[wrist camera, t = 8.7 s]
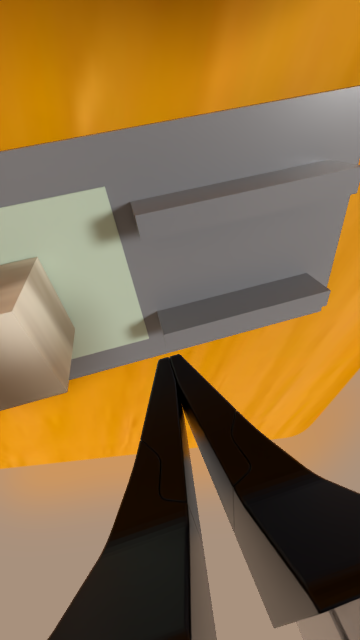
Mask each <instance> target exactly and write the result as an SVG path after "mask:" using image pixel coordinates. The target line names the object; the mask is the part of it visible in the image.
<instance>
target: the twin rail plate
mask: <svg viewBox="0 0 360 640" xmlns="http://www.w3.org/2000/svg"><path fill="white" fill-rule="evenodd" d="M359 159H360V85H359V86H353V87H348V88H342V89H337V90H332V91H326V92H321V93H315V94H310V95H304V96H299V97H293V98H288V99H282V100H277V101H272V102H266V103H261V104H255V105H250V106H244V107H239V108H233V109H228V110H223V111H217V112H212V113H206V114H201V115H195V116H190V117H184V118H179V119H174V120H168V121H163V122H157V123H152V124H146V125H141V126H135V127H130V128H125V129H119V130H114V131H108V132H103V133H97V134H92V135H86V136H81V137H75V138H70V139H65V140H59V141H54V142H48V143H43V144H37V145H32V146H26V147H21V148H16V149H10V150H5V151H0V265H3V264H7V263H12V262H16V261H21V260H25V259H29V258H34V257H38V259H39V261H40V263H41V264H42V266H43V268H44V270H45V272H46V274H47V276H48V278H49V280H50V282H51V284H52V285H53V287H54V289H55V291H56V293H57V295H58V297H59V299H60V301H61V303H62V305H63V307H64V308H65V310H66V312H67V314H68V316H69V318H70V320H71V322H72V324H73V326H74V328H75V334H74V342H73V351H72V359H71V367H70V375H69V380H71V379H75V378H78V377H82V376H86V375H89V374H93V373H97V372H100V371H104V370H107V369H111V368H115V367H118V366H122V365H126V364H129V363H133V362H137V361H140V360H144V359H148V358H151V357H155V356H159V355H162V354H166V353H169V352H173V351H177V350H180V349H184V348H188V347H191V346H195V345H199V344H202V343H206V342H210V341H213V340H217V339H221V338H224V337H228V336H232V335H235V334H239V333H242V332H246V331H250V330H253V329H257V328H261V327H264V326H268V325H272V324H275V323H279V322H283V321H286V320H290V319H294V318H297V317H301V316H304V315H308V314H312V313H315V312H319V311H321V307H323V306H326V305H327V301H328V298H329V294H330V290H329V289H328V288H327V284H328V280H329V276H330V272H331V268H332V264H333V261H334V257H335V253H336V249H337V245H338V241H339V237H340V233H341V229H342V225H343V221H344V217H345V214H346V210H347V206H348V202H349V198H350V195H351V194H355V193H357V190H358V186H359V182H360V165H358V163H359Z"/></svg>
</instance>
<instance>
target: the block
mask: <svg viewBox="0 0 360 640" xmlns="http://www.w3.org/2000/svg"><path fill="white" fill-rule="evenodd" d="M74 334H75V328H74V326H73V324H72V322H71V320H70V318H69V316H68V314H67V312H66V310H65V308H64V307H63V305H62V303H61V301H60V299H59V297H58V295H57V293H56V291H55V289H54V287H53V285H52V284H51V282H50V280H49V278H48V276H47V274H46V272H45V270H44V268H43V266H42V264H41V263H40V261H39V259H38V257H34V258H29V259H25V260H21V261H16V262H12V263H7V264H3V265H0V411H1V410H5V409H8V408H12V407H15V406H19V405H23V404H26V403H30V402H33V401H37V400H41V399H44V398H48V397H51V396H55V395H59V394H62V393H66V392H67V391H68V383H69V375H70V367H71V359H72V351H73V342H74Z"/></svg>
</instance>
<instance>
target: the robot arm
mask: <svg viewBox="0 0 360 640" xmlns="http://www.w3.org/2000/svg"><path fill="white" fill-rule="evenodd" d="M182 407H183V408H182ZM183 410H184V413H185V416H186V418H187V421H188V423H189V425H190V428H191V430H192V433H193V435H194V437H195V440H196V442H197V445H198V447H199V449H200V452H201V454H202V457H203V459H204V461H205V464H206V466H207V469H208V471H209V473H210V476H211V478H212V481H213V483H214V485H215V488H216V490H217V493H218V495H219V497H220V500H221V502H222V505H223V507H224V509H225V512H226V514H227V517H228V519H229V521H230V524H231V526H232V529H233V531H234V533H235V536H236V538H237V541H238V543H239V546H240V548H241V550H242V553H243V555H244V558H245V560H246V562H247V565H248V567H249V570H250V572H251V574H252V577H253V579H254V581H255V584H256V586H257V589H258V591H259V594H260V596H261V598H262V601H263V603H264V605H265V608H266V610H267V613H268V615H269V618H270V620H271V622H272V625H273V627H274V628H277V627H280V626H283V625H287V624H290V623H293V622H297V625H298V627H299V630H300V633H301V635H302V638H303V640H360V494H359V493H357V492H355V491H352V490H349V489H347V488H345V487H343V486H340V485H338V484H335V483H333V482H331V481H328V480H326V479H324V478H322V477H320V476H318V475H316V474H315V473H313V472H312V471H310V470H309V469H307V468H306V467H304V466H303V465H302V464H300V463H299V462H298V461H297V460H295V459H294V458H293V457H292V456H290V455H289V454H288V453H286V452H285V451H284V450H283V449H281V448H280V447H279V446H277V445H276V444H275V443H273V442H272V441H271V440H270V439H268V438H267V437H266V436H265V435H264V434H262V433H261V432H260V431H259V430H257V429H256V428H255V427H254V426H253V425H252V424H251V423H250V422H249V421H248V420H246V419H245V418H244V417H243V416H242V415H241V414H240V413H239V412H238V411H236V409H235V408H234V407H233V406H232V405H231V404H230V403H229V402H228V401H227V400H226V399H225V398H224V397H223V396H222V395H221V394H220V393H219V392H218V391H217V390H216V389H215V388H214V387H213V386H212V385H211V384H210V383H208V382H207V381H206V380H205V379H204V378H203V377H202V376H201V375H200V374H199V373H198V372H197V371H196V370H195V369H194V368H193V367H192V366H191V365H190V364H189V363H188V362H187V361H186V360H185V359H184V358H183V357H182V356H181V355H179V354H177V355H174V356H170V359H169V358H168V357H166V358H163V359H160V360H159V361H158V364H157V369H156V373H155V377H154V382H153V386H152V391H151V395H150V399H149V404H148V408H147V412H146V417H145V421H144V425H143V430H142V434H141V441H140V442H139V447H138V451H137V455H136V459H135V463H134V467H133V470H132V473H131V476H130V479H129V483H128V485H127V488H126V491H125V494H124V497H123V499H122V502H121V505H120V508H119V511H118V514H117V516H116V519H115V522H114V525H113V528H112V530H111V533H110V536H109V538H108V541H107V543H106V545H105V547H104V549H103V551H102V553H101V555H100V557H99V559H98V560H97V562H96V564H95V565H94V567H93V568H92V570H91V572H90V573H89V575H88V576H87V578H86V580H85V581H84V583H83V584H82V586H81V588H80V589H79V591H78V592H77V594H76V596H75V597H74V599H73V600H72V602H71V604H70V605H69V607H68V608H67V610H66V612H65V613H64V615H63V617H62V618H61V620H60V621H59V623H58V625H57V626H56V628H55V630H54V631H53V632H52V634H51V635H50V637H49V638H48V639H47V640H217V638H216V631H215V624H214V617H213V611H212V604H211V597H210V590H209V583H208V577H207V570H206V563H205V556H204V549H203V542H202V535H201V529H200V522H199V515H198V508H197V501H196V494H195V488H194V481H193V474H192V467H191V461H190V453H189V446H188V440H187V433H186V426H185V419H184V413H183Z"/></svg>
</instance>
